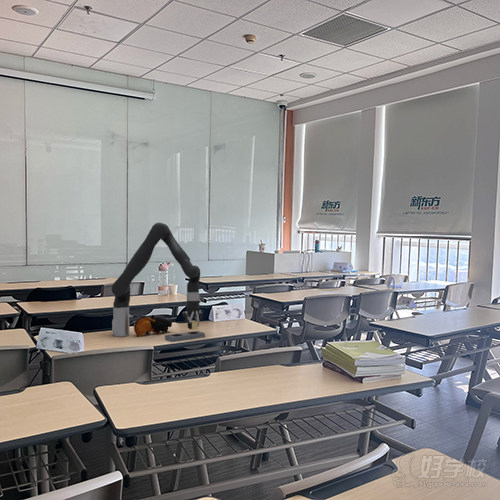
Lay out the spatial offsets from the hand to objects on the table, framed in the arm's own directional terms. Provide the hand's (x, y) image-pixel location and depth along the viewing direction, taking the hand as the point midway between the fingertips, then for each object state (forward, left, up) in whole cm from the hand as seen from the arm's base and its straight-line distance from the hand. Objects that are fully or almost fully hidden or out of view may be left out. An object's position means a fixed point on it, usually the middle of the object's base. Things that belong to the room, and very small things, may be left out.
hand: (193, 328), depth 292 cm
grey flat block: (-6, 0, -5) cm, 8 cm away
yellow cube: (0, 0, 0) cm, 0 cm away
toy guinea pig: (-15, +23, -6) cm, 27 cm away
